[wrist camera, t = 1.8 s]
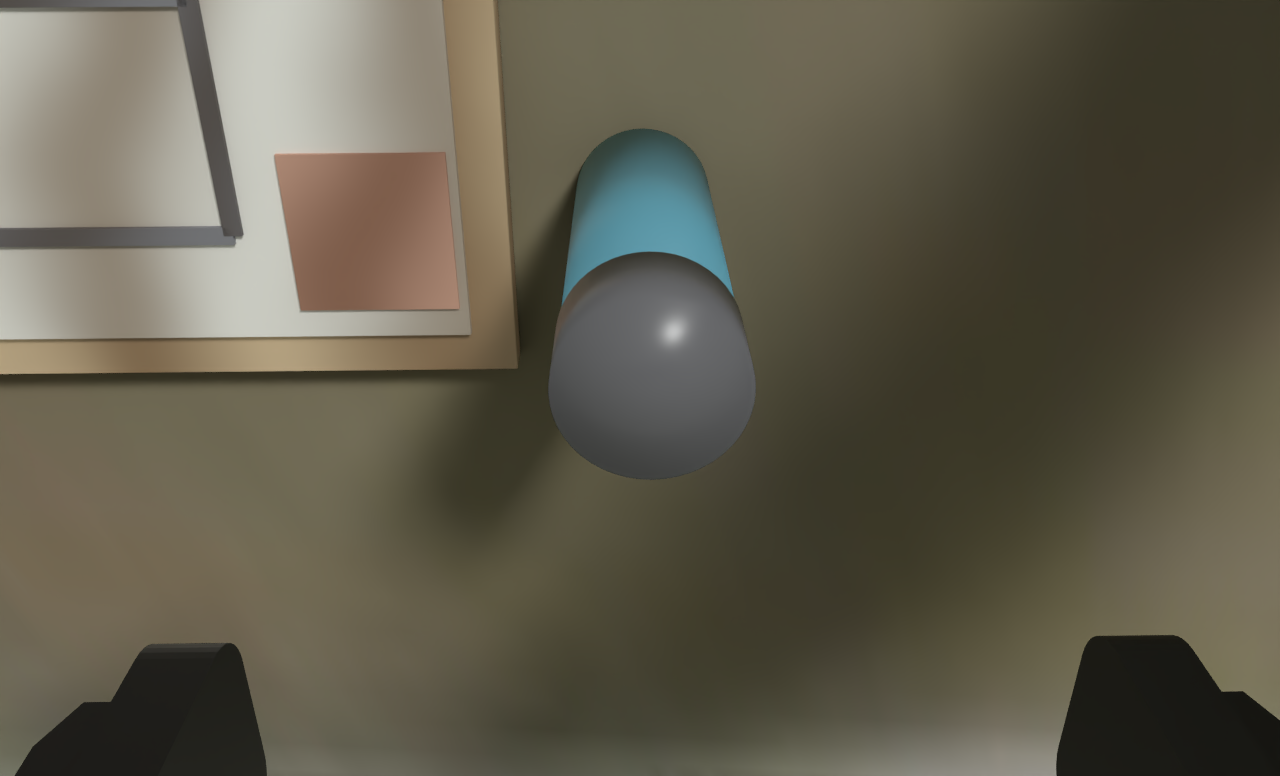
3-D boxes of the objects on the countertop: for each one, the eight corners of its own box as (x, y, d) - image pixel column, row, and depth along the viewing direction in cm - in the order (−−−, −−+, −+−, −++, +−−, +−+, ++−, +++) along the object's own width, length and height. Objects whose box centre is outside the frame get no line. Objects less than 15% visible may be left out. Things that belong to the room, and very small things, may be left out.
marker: (712, 126, 23) (760, 296, 15) (709, 257, 25) (751, 478, 17) (571, 126, 23) (543, 298, 15) (576, 259, 25) (552, 480, 17)
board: (483, -209, 20) (476, -210, 19) (520, 353, 26) (516, 375, 25) (-362, -205, 20) (-413, -206, 19) (-138, 360, 26) (-169, 382, 25)
